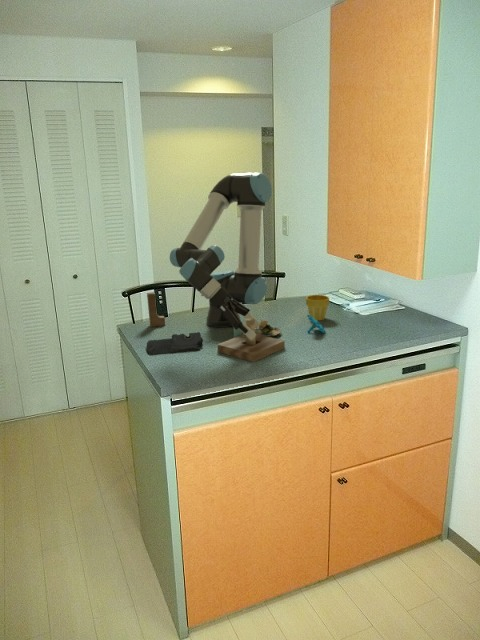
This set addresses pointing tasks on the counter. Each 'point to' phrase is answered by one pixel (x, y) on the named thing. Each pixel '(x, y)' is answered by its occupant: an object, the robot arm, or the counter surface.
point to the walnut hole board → (251, 347)
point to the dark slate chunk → (176, 344)
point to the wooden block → (154, 311)
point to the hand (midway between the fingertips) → (256, 331)
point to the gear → (315, 324)
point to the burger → (267, 330)
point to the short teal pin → (237, 332)
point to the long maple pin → (251, 325)
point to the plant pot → (317, 306)
